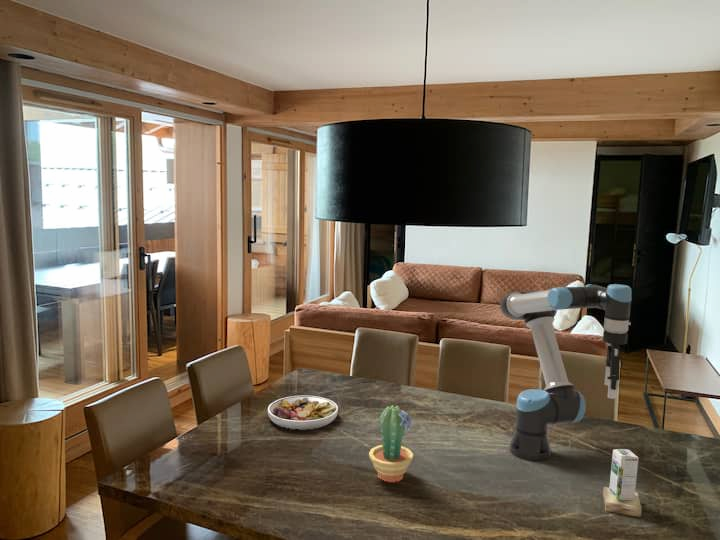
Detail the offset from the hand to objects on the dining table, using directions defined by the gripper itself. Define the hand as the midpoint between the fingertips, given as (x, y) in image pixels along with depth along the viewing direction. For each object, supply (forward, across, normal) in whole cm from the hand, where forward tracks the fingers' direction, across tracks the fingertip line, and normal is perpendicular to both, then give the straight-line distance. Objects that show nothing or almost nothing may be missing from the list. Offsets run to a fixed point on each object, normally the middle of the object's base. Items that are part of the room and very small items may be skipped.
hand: (610, 391), depth 196 cm
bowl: (+33, +10, +119) cm, 124 cm away
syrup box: (+28, -17, -4) cm, 33 cm away
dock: (+31, -18, -4) cm, 36 cm away
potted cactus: (+32, -26, +70) cm, 81 cm away
